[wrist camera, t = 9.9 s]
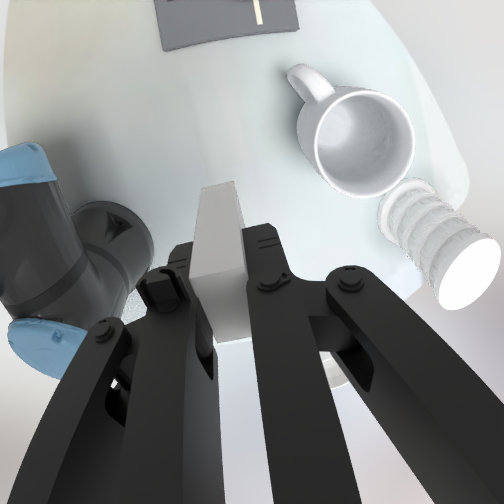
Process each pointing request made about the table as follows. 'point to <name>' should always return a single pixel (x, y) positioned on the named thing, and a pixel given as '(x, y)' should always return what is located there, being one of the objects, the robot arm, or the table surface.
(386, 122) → the mug
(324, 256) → the table surface
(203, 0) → the console
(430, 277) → the decorative container
